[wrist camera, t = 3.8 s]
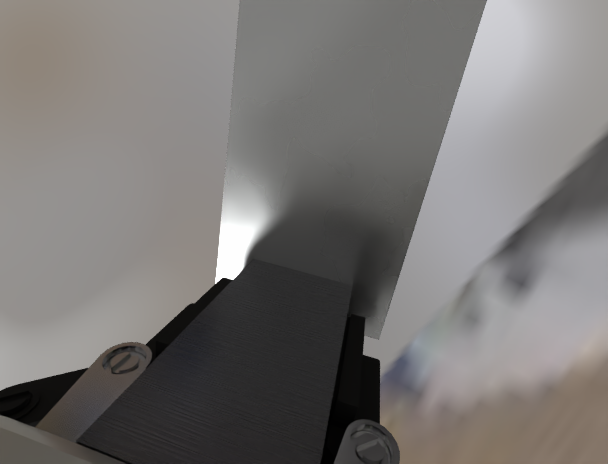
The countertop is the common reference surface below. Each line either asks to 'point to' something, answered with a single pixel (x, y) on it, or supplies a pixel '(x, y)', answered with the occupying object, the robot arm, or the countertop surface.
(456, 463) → the countertop surface
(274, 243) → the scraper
